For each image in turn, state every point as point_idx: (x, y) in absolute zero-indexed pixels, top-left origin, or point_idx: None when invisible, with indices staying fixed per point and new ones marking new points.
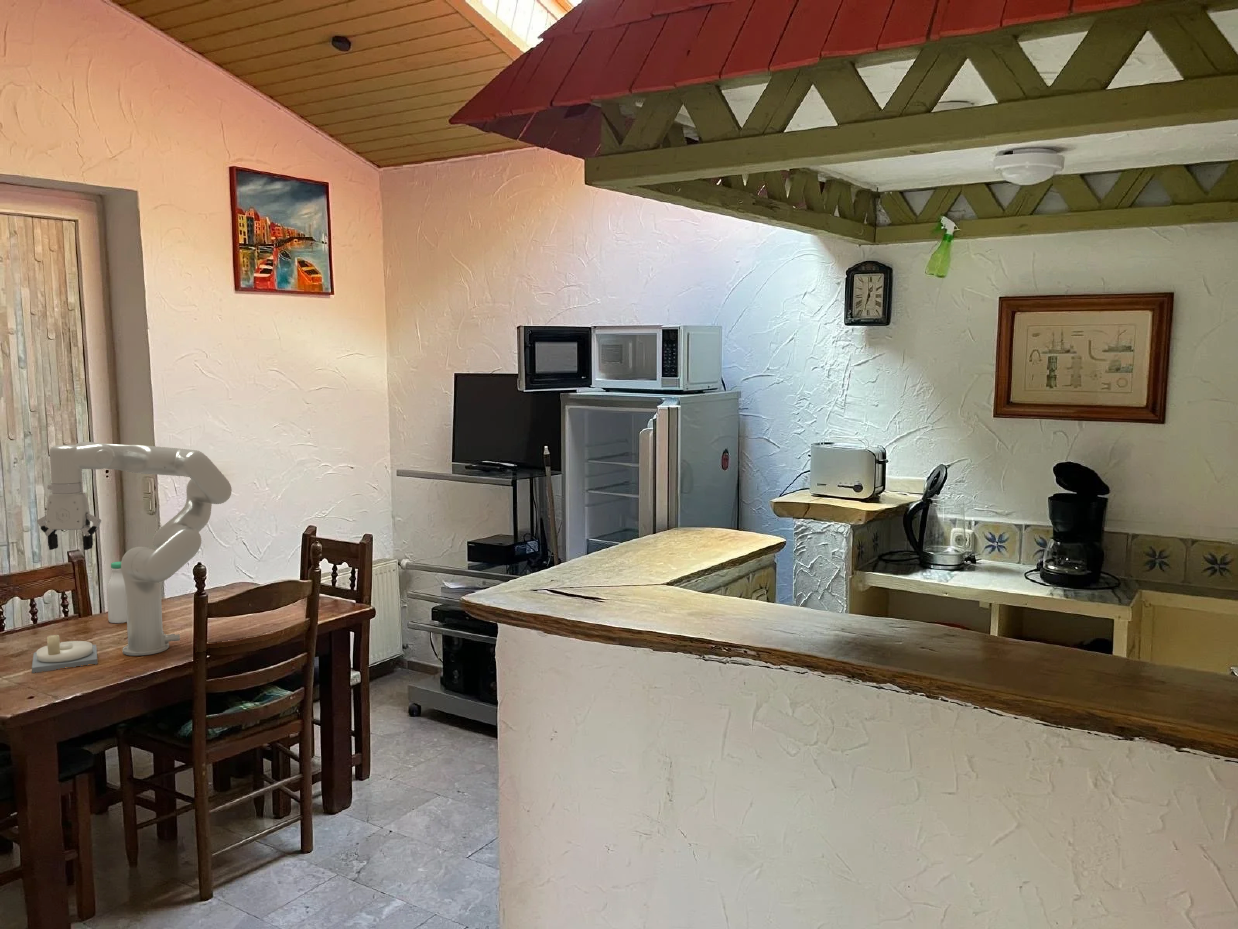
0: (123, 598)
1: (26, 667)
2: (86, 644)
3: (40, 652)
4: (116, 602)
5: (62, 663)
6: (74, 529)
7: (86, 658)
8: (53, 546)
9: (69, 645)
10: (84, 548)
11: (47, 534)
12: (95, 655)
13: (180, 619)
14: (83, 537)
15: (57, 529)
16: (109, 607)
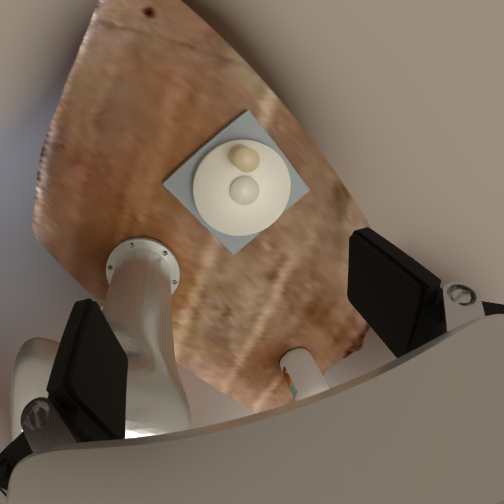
0: (296, 381)
1: (280, 137)
2: (218, 219)
3: (270, 154)
4: (302, 372)
5: (209, 144)
6: (90, 444)
7: (186, 181)
8: (359, 261)
9: (231, 189)
10: (82, 303)
11: (456, 292)
12: (183, 201)
13: (218, 385)
14: (63, 377)
15: (402, 359)
16: (310, 363)
